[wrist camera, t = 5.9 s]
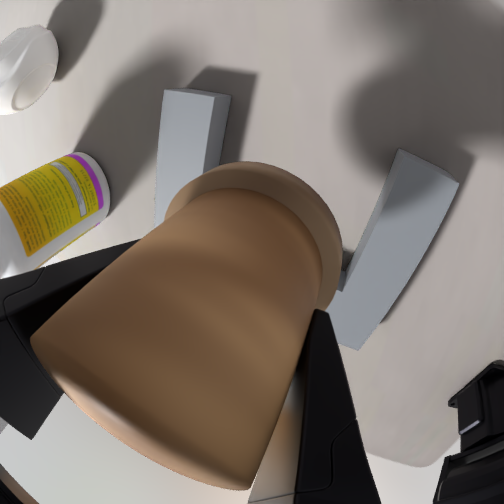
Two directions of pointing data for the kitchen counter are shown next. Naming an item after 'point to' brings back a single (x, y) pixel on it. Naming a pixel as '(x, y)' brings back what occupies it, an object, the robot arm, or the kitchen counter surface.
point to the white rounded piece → (26, 67)
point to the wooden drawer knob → (201, 323)
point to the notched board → (374, 237)
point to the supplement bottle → (50, 211)
